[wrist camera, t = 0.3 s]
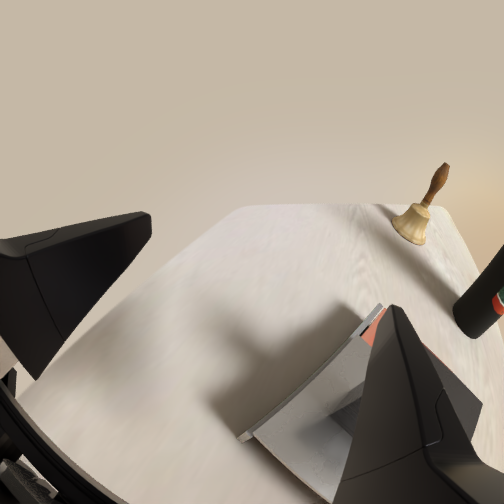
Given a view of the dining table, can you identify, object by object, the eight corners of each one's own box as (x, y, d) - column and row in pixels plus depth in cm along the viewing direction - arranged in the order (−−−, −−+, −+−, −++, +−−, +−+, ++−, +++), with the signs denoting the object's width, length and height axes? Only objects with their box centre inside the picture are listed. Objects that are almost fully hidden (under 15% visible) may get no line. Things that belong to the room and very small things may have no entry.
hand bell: (397, 213, 52) (430, 150, 42) (427, 236, 49) (465, 174, 38) (386, 225, 47) (424, 152, 36) (420, 251, 44) (464, 180, 33)
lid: (368, 530, 10) (458, 530, 4) (251, 433, 15) (297, 400, 9) (440, 417, 17) (509, 375, 11) (354, 337, 23) (408, 273, 17)
